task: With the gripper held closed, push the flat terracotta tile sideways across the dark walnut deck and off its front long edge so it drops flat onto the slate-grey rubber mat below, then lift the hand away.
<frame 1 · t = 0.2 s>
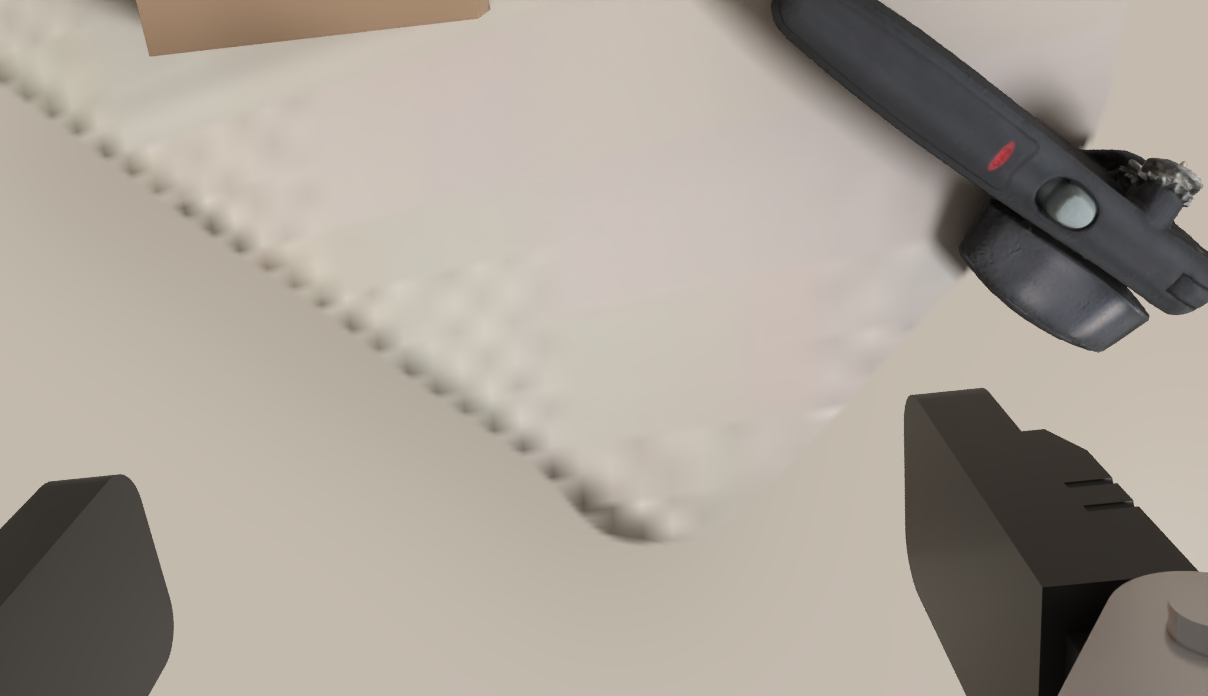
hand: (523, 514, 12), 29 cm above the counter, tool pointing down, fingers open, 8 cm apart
can opener: (962, 134, 39), on the counter
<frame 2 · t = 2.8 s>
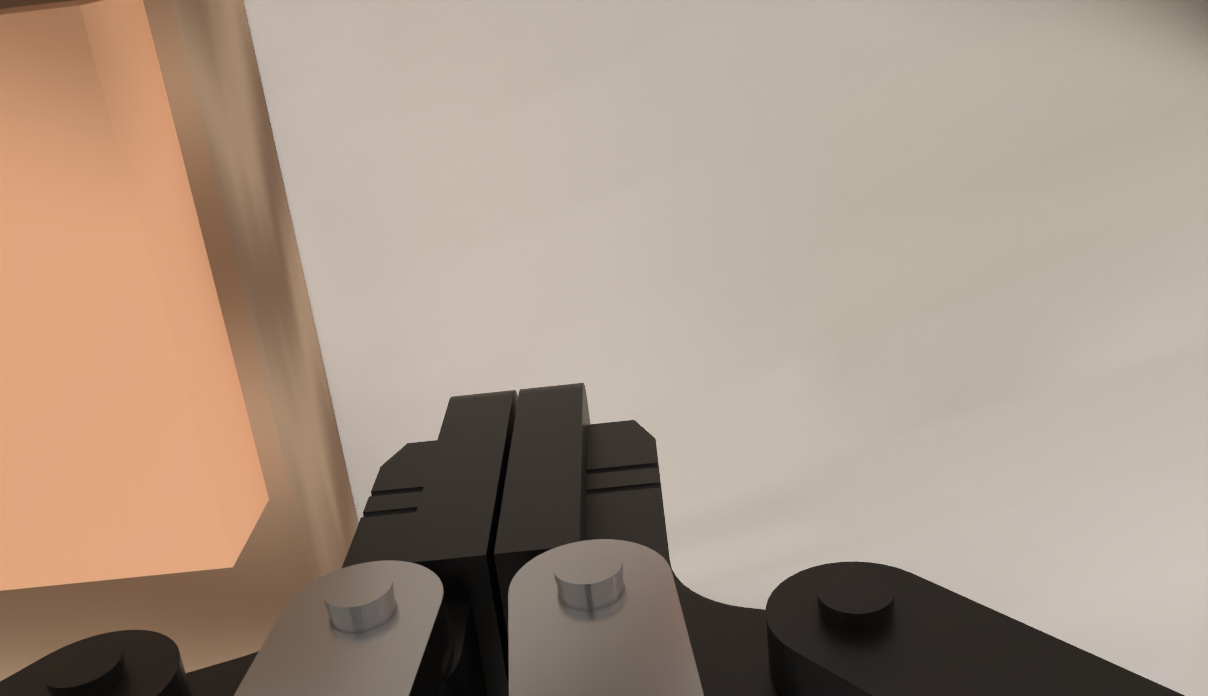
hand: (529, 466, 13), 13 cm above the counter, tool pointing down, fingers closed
walnut deck: (68, 234, 25), on the counter
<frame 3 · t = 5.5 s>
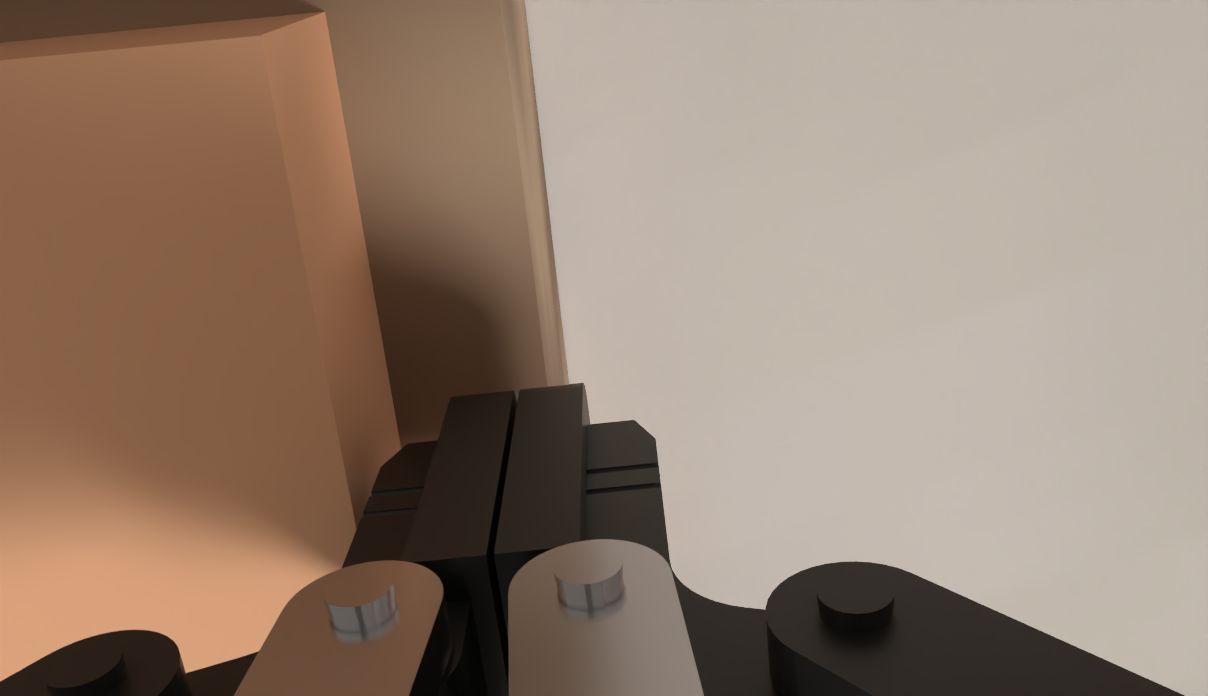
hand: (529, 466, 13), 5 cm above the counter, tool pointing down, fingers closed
walnut deck: (241, 341, 17), on the counter
terracotta tile: (72, 511, 13), point 5 cm above the counter, touching walnut deck
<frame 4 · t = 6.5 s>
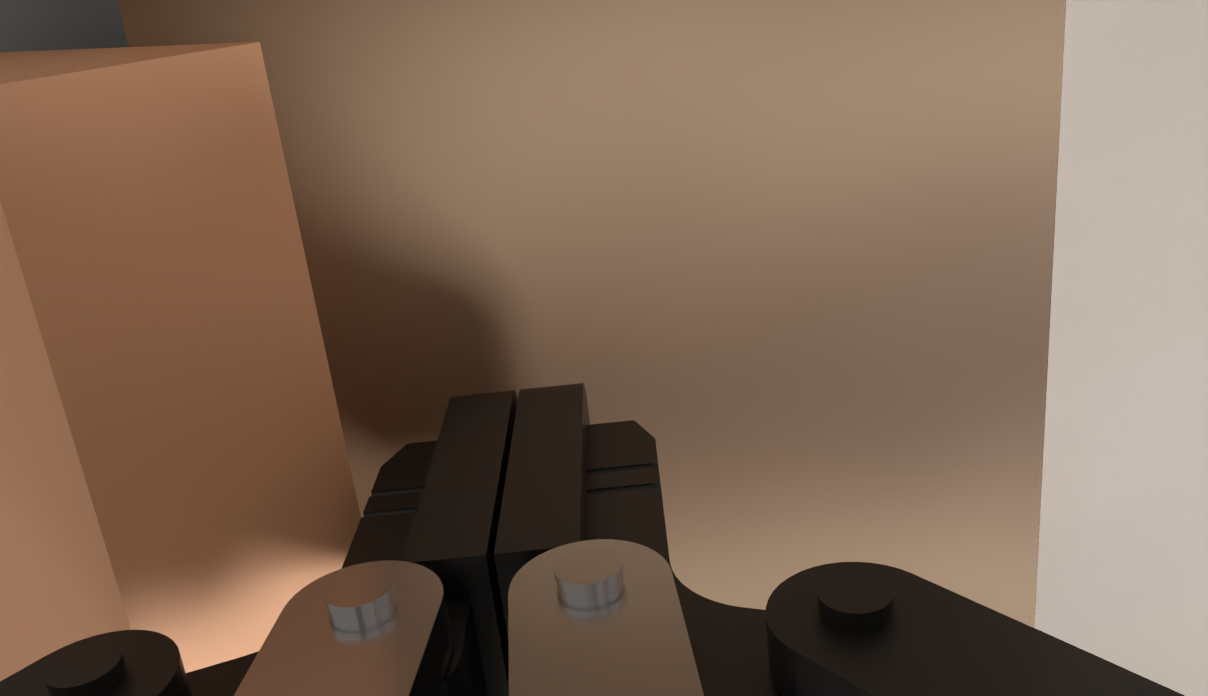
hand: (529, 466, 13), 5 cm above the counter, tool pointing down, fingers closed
walnut deck: (623, 300, 17), on the counter
terracotta tile: (109, 492, 13), point 4 cm above the counter, tilted 44°, touching walnut deck
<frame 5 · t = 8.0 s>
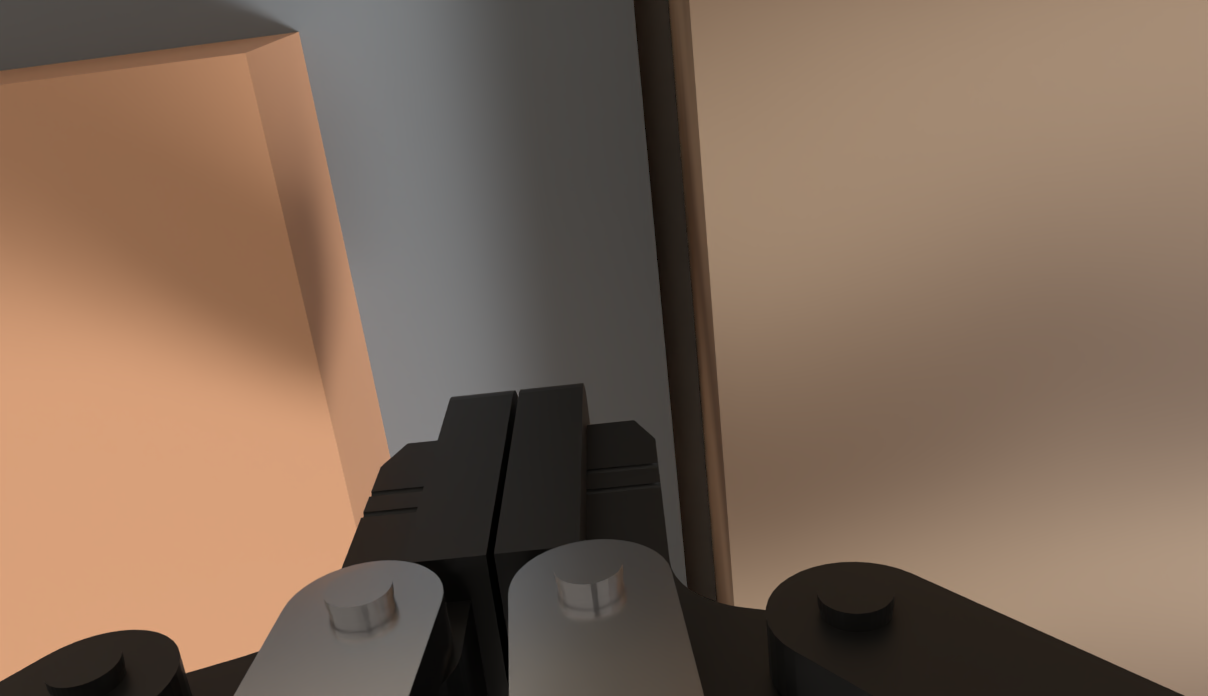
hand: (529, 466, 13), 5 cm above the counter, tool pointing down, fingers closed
walnut deck: (1018, 265, 17), on the counter
slate mat: (339, 334, 17), on the counter
terracotta tile: (113, 432, 16), point 2 cm above the counter, tilted 180°, touching slate mat
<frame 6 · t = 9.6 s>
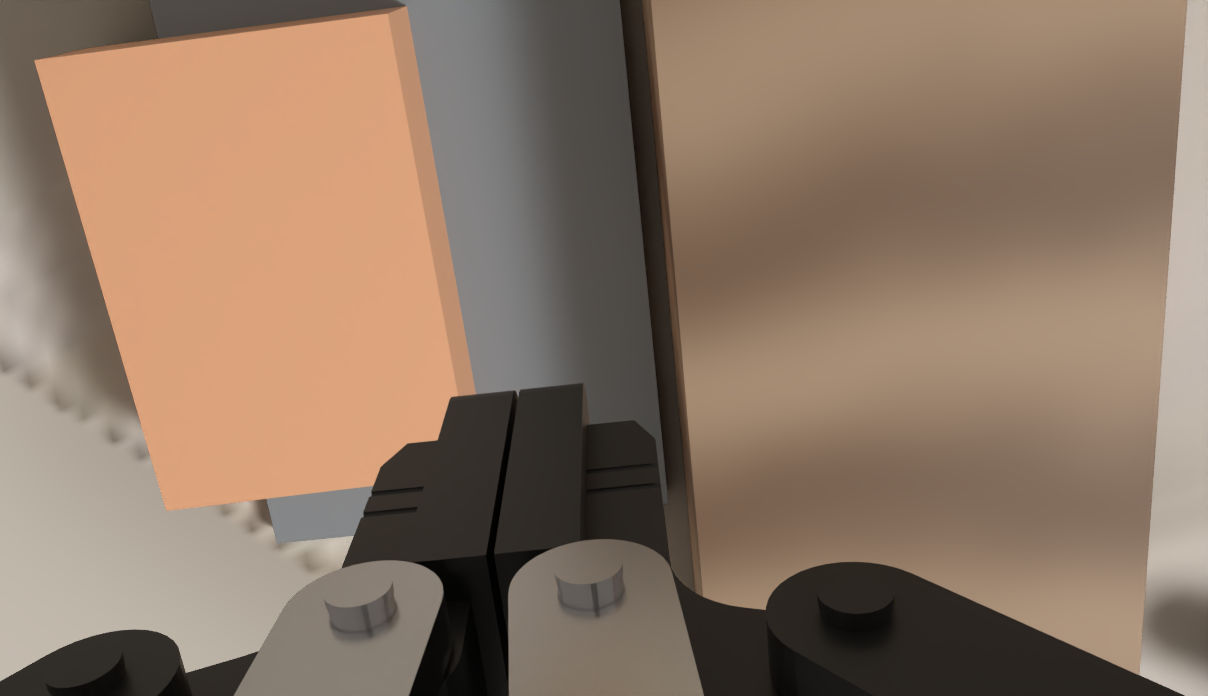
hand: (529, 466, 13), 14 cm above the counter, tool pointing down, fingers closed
walnut deck: (873, 161, 26), on the counter
slate mat: (424, 210, 26), on the counter
terracotta tile: (283, 264, 25), point 2 cm above the counter, tilted 180°, touching slate mat
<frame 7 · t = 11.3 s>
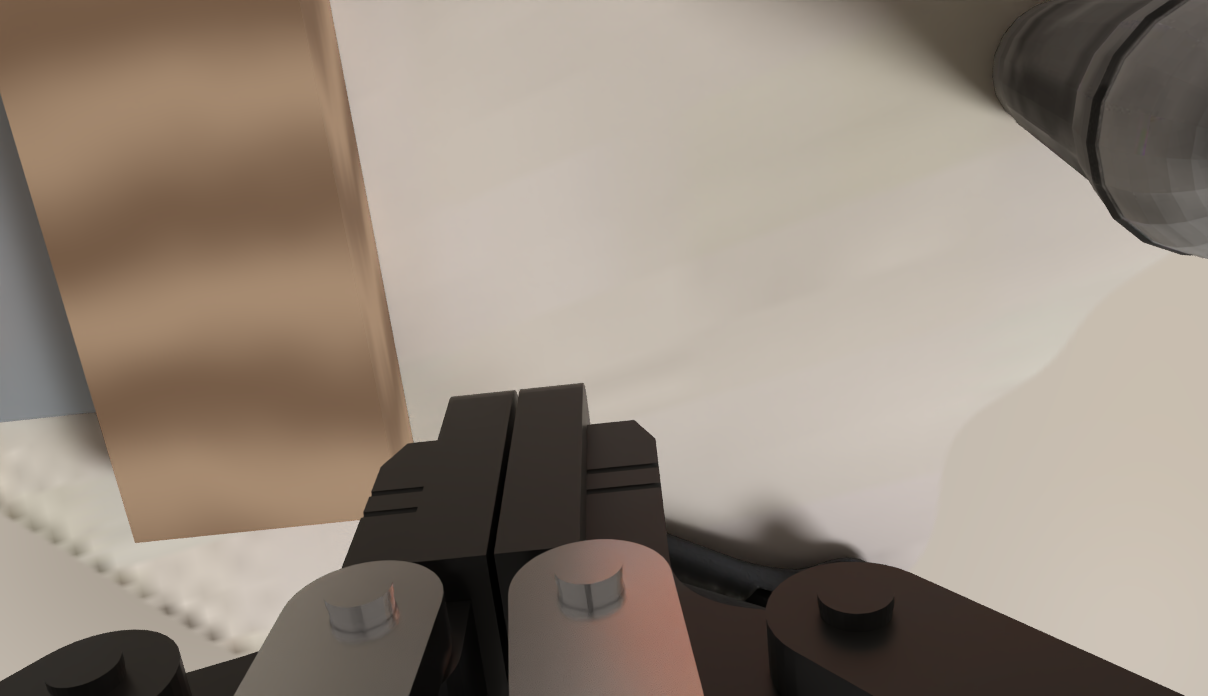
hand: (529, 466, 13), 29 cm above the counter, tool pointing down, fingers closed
walnut deck: (226, 186, 41), on the counter
beverage cup: (1054, 64, 40), on the counter
can opener: (714, 568, 47), on the counter
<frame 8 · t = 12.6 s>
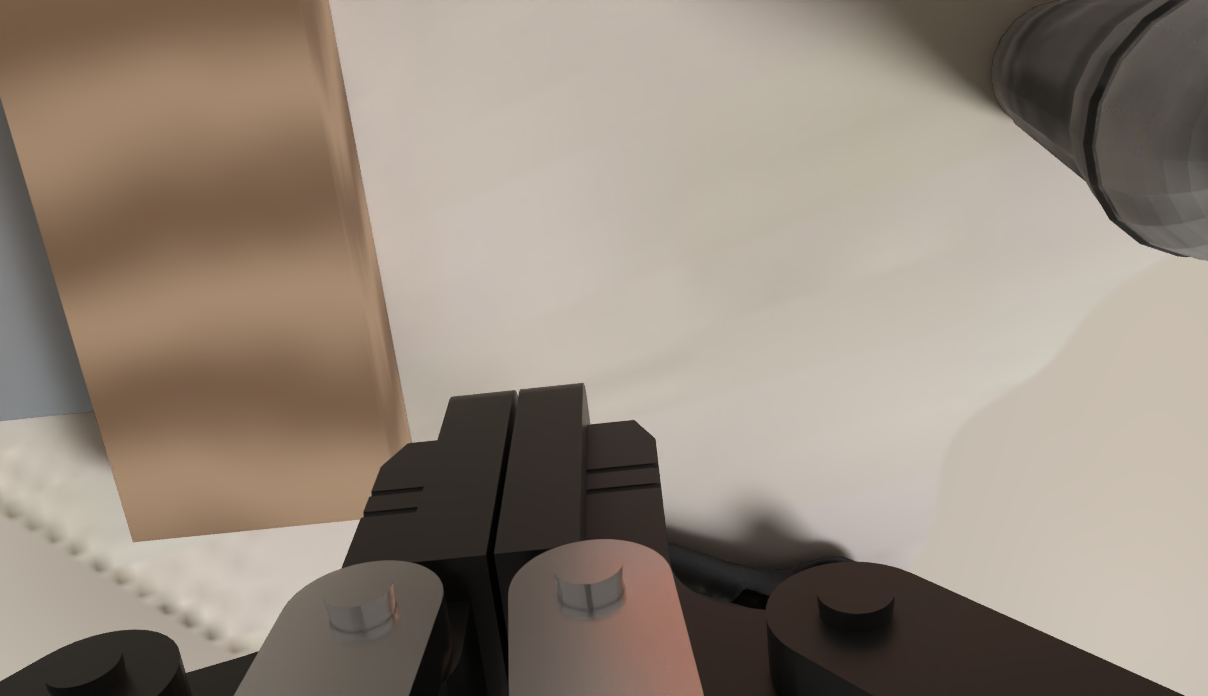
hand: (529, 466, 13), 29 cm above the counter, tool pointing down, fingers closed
walnut deck: (224, 186, 41), on the counter
beverage cup: (1053, 65, 40), on the counter
can opener: (701, 570, 47), on the counter
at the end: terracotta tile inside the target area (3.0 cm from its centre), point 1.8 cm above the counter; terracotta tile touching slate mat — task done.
